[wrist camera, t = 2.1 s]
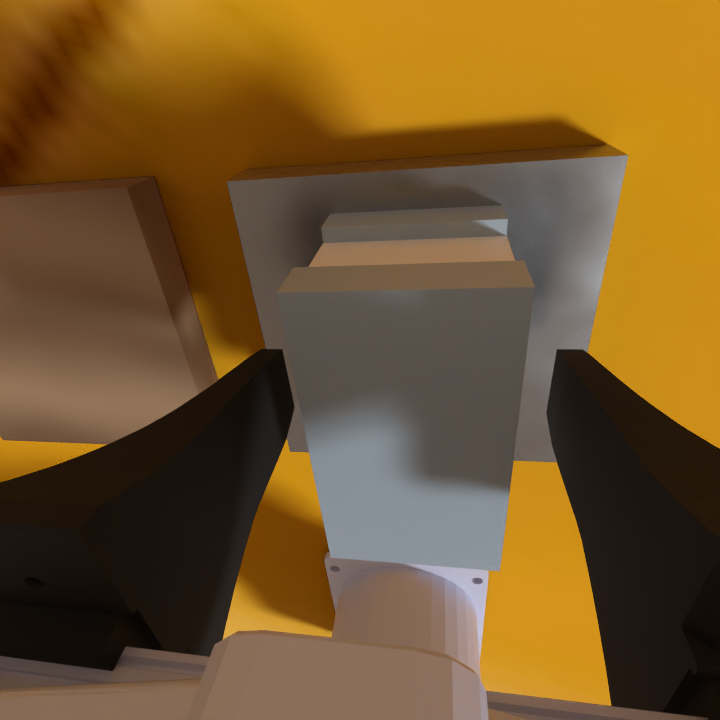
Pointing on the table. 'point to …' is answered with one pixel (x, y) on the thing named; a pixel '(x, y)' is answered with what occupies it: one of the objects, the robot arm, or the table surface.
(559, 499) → the table surface
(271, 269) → the stand
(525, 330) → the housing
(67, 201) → the stand
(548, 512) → the table surface
